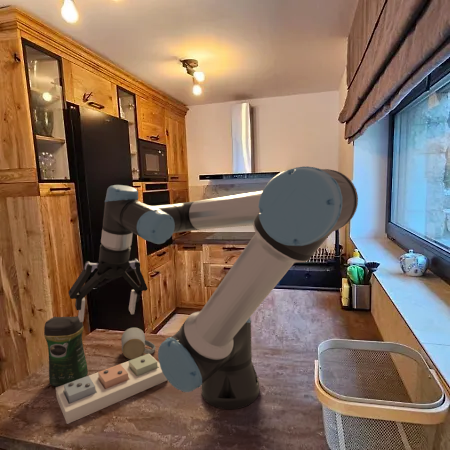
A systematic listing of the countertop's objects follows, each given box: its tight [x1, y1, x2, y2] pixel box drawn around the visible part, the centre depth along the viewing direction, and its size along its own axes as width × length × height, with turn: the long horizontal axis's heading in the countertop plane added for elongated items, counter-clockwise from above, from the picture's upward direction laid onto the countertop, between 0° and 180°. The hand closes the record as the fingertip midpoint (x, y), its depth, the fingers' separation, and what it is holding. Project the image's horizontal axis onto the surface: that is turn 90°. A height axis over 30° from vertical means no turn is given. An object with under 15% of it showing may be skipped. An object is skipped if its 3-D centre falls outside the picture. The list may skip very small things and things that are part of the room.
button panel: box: [55, 354, 168, 425], centre depth 86 cm, size 12×26×3 cm, turn 128°
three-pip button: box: [64, 375, 96, 404], centre depth 81 cm, size 6×6×3 cm
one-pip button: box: [128, 353, 158, 376], centre depth 91 cm, size 6×6×3 cm
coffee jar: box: [43, 315, 89, 387], centre depth 91 cm, size 10×8×19 cm
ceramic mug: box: [120, 327, 156, 360], centre depth 105 cm, size 11×8×8 cm
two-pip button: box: [98, 363, 128, 389], centre depth 86 cm, size 6×6×3 cm
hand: (107, 315), depth 89 cm, fingers open, 13 cm apart
